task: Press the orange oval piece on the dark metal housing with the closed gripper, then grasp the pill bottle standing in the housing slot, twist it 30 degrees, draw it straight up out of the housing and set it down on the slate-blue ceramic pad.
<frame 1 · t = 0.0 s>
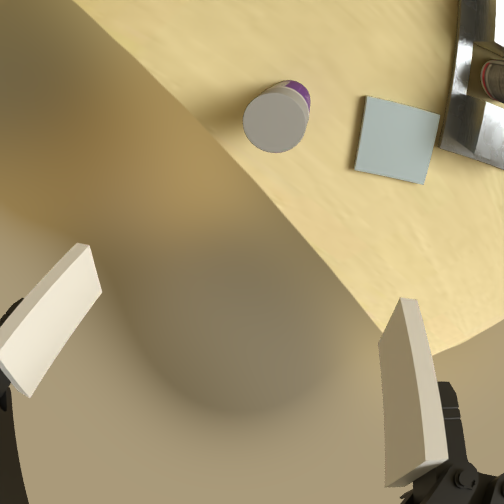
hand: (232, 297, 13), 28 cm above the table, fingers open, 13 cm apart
housing: (496, 80, 25), on the table
pill bottle: (495, 80, 25), resting in housing
pad: (396, 139, 33), on the table
container: (289, 99, 33), on the table
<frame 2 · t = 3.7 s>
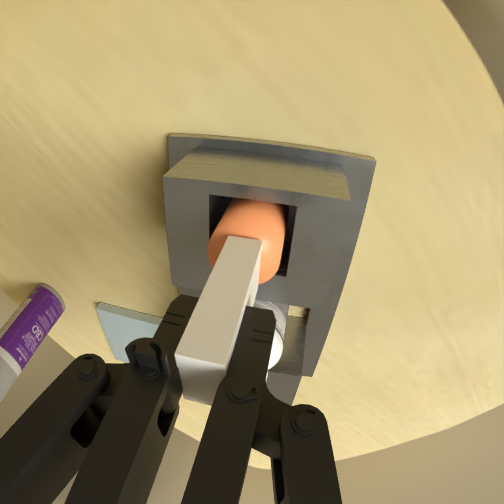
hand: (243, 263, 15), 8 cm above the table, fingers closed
housing: (258, 279, 25), on the table
pill bottle: (258, 277, 25), resting in housing
pad: (143, 339, 33), on the table
container: (51, 297, 33), on the table
orange oval piece: (252, 229, 17), point 5 cm above the table, slide at 1.3 cm, touching gripper
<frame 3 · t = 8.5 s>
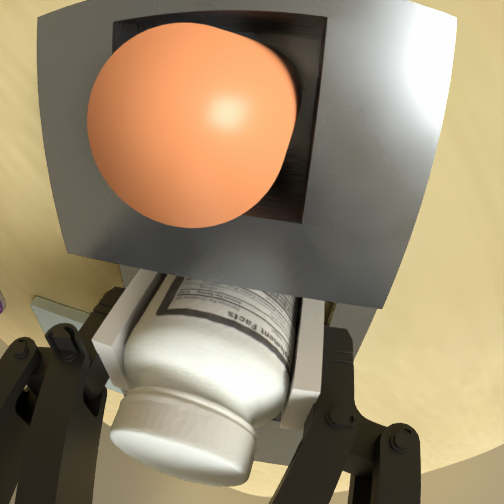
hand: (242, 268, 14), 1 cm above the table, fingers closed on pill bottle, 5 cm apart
housing: (245, 258, 15), on the table
pill bottle: (246, 255, 15), resting in housing, touching gripper
pad: (94, 348, 23), on the table
orange oval piece: (219, 106, 7), point 5 cm above the table, slide at 1.5 cm
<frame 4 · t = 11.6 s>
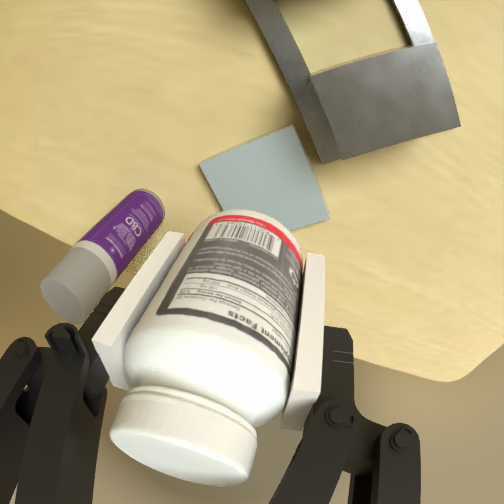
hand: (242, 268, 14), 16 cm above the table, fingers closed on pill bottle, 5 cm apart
housing: (344, 19, 19), on the table
pill bottle: (247, 255, 15), point 15 cm above the table, touching gripper
pad: (266, 186, 29), on the table
container: (146, 207, 33), on the table
when the fingers open (3 cm above the table, at t = 14.9 s): pill bottle drops 1 cm, resting on pad.
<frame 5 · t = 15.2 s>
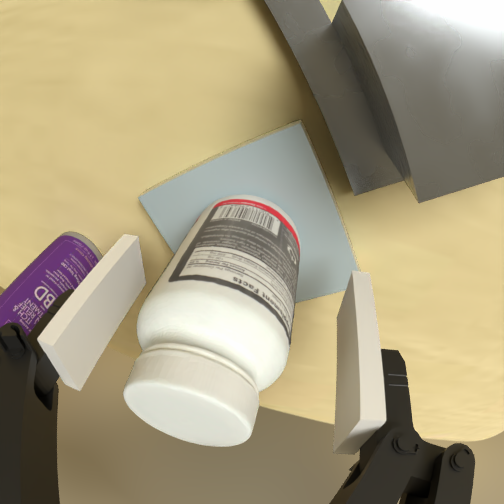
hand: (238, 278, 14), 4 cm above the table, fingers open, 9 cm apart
pill bottle: (248, 238, 16), point 1 cm above the table, touching pad
pad: (255, 231, 17), on the table
container: (82, 257, 21), on the table
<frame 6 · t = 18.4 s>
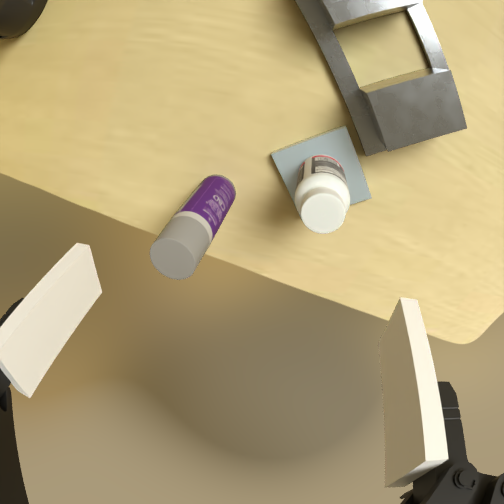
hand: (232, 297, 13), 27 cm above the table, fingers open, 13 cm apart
housing: (383, 47, 26), on the table
pill bottle: (321, 174, 35), point 1 cm above the table, touching pad
pad: (323, 172, 36), on the table
container: (218, 191, 40), on the table
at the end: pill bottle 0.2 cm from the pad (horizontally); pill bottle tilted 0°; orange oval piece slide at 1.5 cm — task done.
